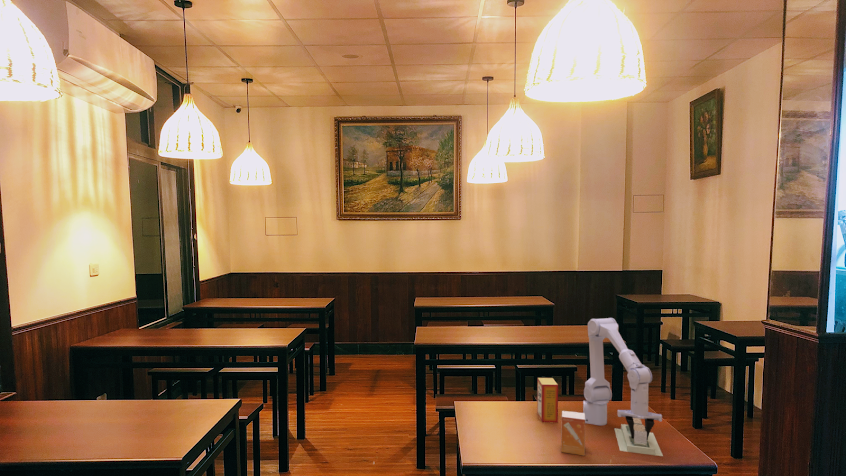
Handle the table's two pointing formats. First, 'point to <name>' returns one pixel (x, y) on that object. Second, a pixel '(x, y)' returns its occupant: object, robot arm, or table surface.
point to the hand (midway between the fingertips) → (639, 438)
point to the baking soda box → (547, 400)
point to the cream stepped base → (628, 446)
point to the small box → (573, 433)
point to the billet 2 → (640, 436)
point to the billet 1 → (636, 422)
